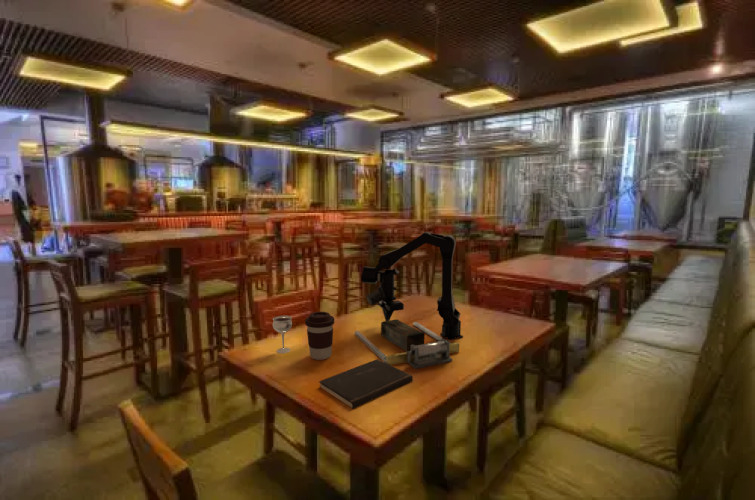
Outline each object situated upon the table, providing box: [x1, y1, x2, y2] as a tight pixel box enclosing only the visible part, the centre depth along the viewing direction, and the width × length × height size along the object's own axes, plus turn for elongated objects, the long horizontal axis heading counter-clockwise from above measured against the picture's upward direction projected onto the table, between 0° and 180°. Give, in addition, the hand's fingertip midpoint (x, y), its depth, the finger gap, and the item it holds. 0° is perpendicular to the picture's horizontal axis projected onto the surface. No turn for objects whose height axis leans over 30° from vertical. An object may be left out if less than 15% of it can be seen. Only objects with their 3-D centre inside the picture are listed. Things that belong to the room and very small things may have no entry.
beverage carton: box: [380, 319, 426, 352], centre depth 149 cm, size 8×19×7 cm, turn 30°
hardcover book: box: [318, 358, 413, 410], centre depth 117 cm, size 16×23×2 cm
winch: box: [405, 338, 453, 370], centre depth 131 cm, size 16×5×6 cm, turn 114°
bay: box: [354, 321, 460, 366], centre depth 149 cm, size 28×31×3 cm
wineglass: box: [272, 314, 293, 354], centre depth 141 cm, size 7×7×12 cm
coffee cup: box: [304, 311, 335, 361], centre depth 136 cm, size 10×10×15 cm
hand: (387, 321), depth 162 cm, fingers closed
